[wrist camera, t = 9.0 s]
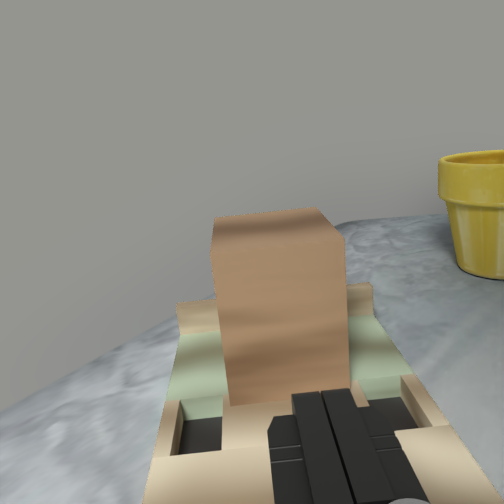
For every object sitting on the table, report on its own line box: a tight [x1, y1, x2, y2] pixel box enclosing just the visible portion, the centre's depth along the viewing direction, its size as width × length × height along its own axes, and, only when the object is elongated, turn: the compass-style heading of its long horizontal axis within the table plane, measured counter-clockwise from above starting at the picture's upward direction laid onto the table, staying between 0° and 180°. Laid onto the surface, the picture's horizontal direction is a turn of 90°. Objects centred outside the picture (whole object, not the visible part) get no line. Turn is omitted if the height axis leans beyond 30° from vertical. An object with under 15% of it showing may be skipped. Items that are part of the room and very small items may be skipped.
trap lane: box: [142, 282, 504, 504], centre depth 21 cm, size 20×13×4 cm, turn 2°
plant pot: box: [438, 150, 504, 280], centre depth 38 cm, size 10×10×10 cm
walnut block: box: [210, 207, 350, 406], centre depth 25 cm, size 7×6×8 cm
